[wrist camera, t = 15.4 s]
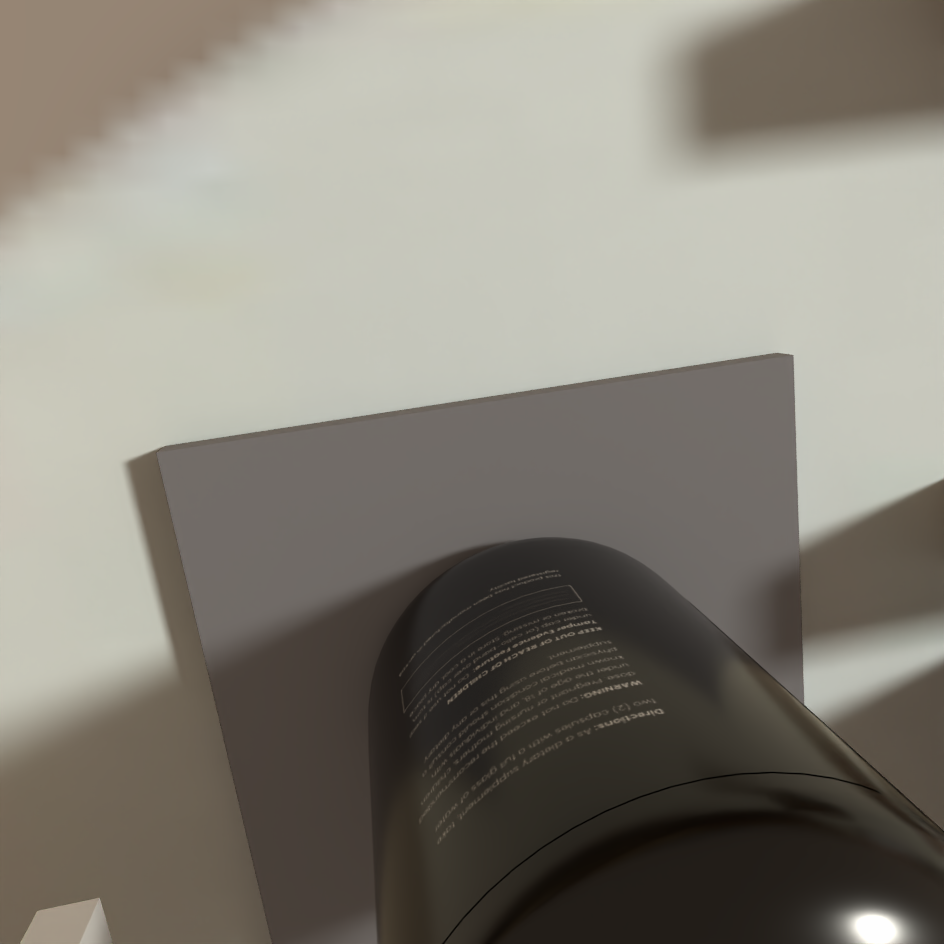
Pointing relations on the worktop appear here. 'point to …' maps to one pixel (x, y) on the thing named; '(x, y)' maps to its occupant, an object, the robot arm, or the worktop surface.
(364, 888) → the mat
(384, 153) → the worktop surface
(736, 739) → the supplement bottle
